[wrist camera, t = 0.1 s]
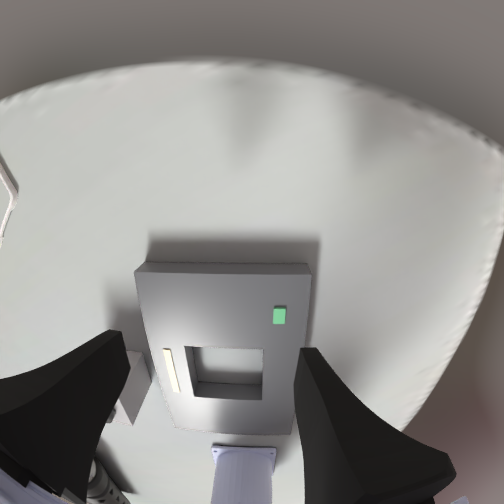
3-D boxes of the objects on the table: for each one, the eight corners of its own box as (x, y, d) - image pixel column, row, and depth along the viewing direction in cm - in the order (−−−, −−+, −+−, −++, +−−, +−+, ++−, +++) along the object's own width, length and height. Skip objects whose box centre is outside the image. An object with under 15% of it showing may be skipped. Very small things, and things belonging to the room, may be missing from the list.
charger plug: (151, 382, 24) (129, 434, 17) (118, 376, 24) (91, 423, 17) (142, 352, 22) (113, 406, 16) (107, 347, 22) (74, 394, 16)
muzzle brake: (103, 484, 40) (93, 512, 30) (63, 431, 31) (42, 470, 21) (137, 496, 40) (128, 526, 30) (107, 451, 31) (89, 495, 21)
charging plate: (289, 420, 25) (290, 435, 23) (178, 414, 25) (174, 429, 23) (307, 263, 19) (312, 275, 17) (144, 261, 19) (132, 272, 17)
